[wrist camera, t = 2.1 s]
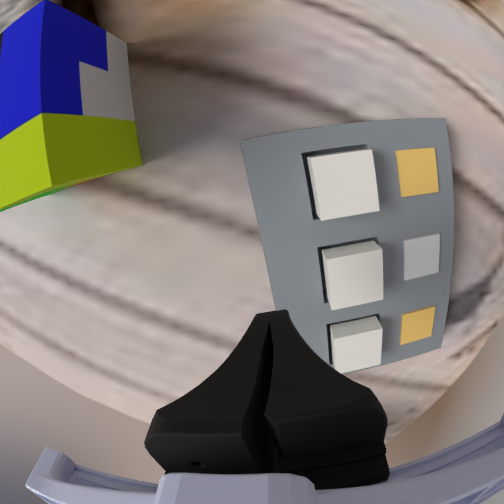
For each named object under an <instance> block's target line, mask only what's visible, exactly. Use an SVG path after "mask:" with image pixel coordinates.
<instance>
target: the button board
mask: <svg viewBox="0 0 504 504" xmlns="http://www.w3.org/2000/svg"><path fill="white" fill-rule="evenodd" d="M240 144H241V148H242V153H243V157H244V162H245V167H246V171H247V176H248V180H249V185H250V190H251V194H252V199H253V203H254V208H255V213H256V217H257V222H258V227H259V232H260V236H261V241H262V246H263V251H264V255H265V260H266V265H267V270H268V275H269V279H270V284H271V289H272V294H273V299H274V304H275V309H276V311H277V310H283V309H286V310H288V311H289V316H290V318H291V320H292V322H293V324H294V326H295V328H296V329H297V331H298V332H299V334H300V335H301V337H302V338H303V339H304V340H305V342H306V343H307V344H308V345H309V346H310V348H311V349H312V350H313V351H314V352H315V353H316V354H317V355H318V356H319V357H320V358H321V359H323V360H324V361H325V362H326V363H327V364H328V365H330V366H331V367H332V368H334V364H333V359H332V344H331V331H330V325H334V324H339V323H344V322H349V321H354V320H358V319H363V318H367V317H372V316H376V317H377V319H378V321H379V323H380V324H381V326H382V328H383V331H382V350H381V363H380V365H376V366H372V367H368V368H364V369H369V368H373V367H377V366H381V365H385V364H388V363H392V362H396V361H399V360H403V359H406V358H410V357H413V356H416V355H420V354H423V353H426V352H429V351H432V350H435V349H438V348H441V344H442V340H443V334H444V329H445V323H446V317H447V310H448V303H449V296H450V287H451V277H452V265H453V248H454V193H453V176H452V164H451V155H450V146H449V138H448V131H447V125H446V119H445V118H420V119H396V120H380V121H368V122H357V123H347V124H338V125H330V126H322V127H315V128H308V129H302V130H295V131H289V132H283V133H278V134H272V135H267V136H262V137H257V138H252V139H247V140H242V141H240ZM360 149H370V150H372V154H373V160H374V167H375V174H376V182H377V190H378V200H379V210H380V211H376V212H370V213H364V214H358V215H352V216H346V217H340V218H335V219H329V220H323V221H321V220H320V218H319V217H318V215H317V213H316V207H315V201H314V195H313V189H312V183H311V177H310V172H309V166H308V161H307V157H310V156H316V155H323V154H330V153H337V152H344V151H352V150H360ZM373 240H374V241H375V242H376V243H377V244H378V245H379V246H380V247H381V248H382V254H383V300H379V301H375V302H370V303H366V304H361V305H356V306H351V307H346V308H341V309H336V310H332V309H331V307H330V304H329V301H328V298H327V289H326V280H325V272H324V264H323V256H322V250H324V249H329V248H335V247H340V246H346V245H351V244H357V243H362V242H367V241H373ZM334 369H335V368H334ZM364 369H359V370H355V371H350V372H345V373H341V374H346V373H351V372H356V371H360V370H364Z"/></svg>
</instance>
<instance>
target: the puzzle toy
mask: <svg viewBox="0 0 504 504" xmlns="http://www.w3.org/2000/svg"><path fill="white" fill-rule="evenodd" d="M138 166H142V159H141V154H140V148H139V142H138V136H137V129H136V123H135V116H134V109H133V101H132V93H131V84H130V75H129V65H128V53H127V43H125V42H124V41H122V40H120V39H119V38H117V37H116V36H114V35H112V34H111V33H109V32H107V31H105V30H104V29H102V28H100V27H99V26H97V25H95V24H93V23H92V22H90V21H88V20H86V19H84V18H82V17H81V16H79V15H77V14H75V13H73V12H71V11H69V10H67V9H65V8H63V7H61V6H59V5H57V4H55V3H53V2H51V1H49V0H43V1H41V2H40V3H39V4H37V5H36V6H34V7H33V8H32V9H30V10H29V11H28V12H26V13H25V14H24V15H23V16H21V17H20V18H19V19H18V20H16V21H15V22H14V23H13V24H11V25H10V26H9V27H8V28H7V29H6V30H4V31H3V32H2V33H1V34H0V212H1V211H4V210H6V209H9V208H12V207H14V206H17V205H20V204H23V203H25V202H28V201H31V200H34V199H37V198H40V197H43V196H46V195H49V194H52V193H54V192H57V191H60V190H63V189H66V188H69V187H71V186H74V185H77V184H80V183H83V182H87V181H90V180H93V179H96V178H99V177H103V176H106V175H109V174H113V173H116V172H120V171H123V170H127V169H130V168H134V167H138Z"/></svg>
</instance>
